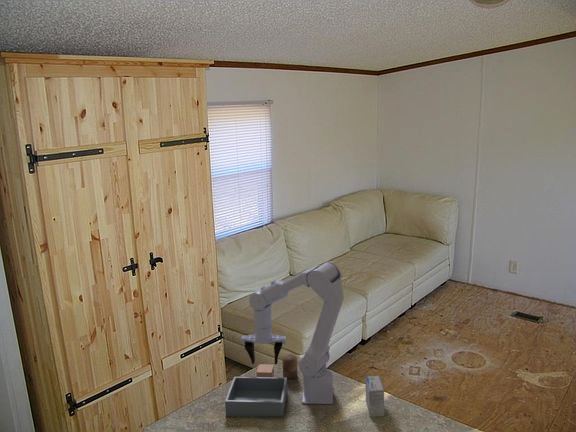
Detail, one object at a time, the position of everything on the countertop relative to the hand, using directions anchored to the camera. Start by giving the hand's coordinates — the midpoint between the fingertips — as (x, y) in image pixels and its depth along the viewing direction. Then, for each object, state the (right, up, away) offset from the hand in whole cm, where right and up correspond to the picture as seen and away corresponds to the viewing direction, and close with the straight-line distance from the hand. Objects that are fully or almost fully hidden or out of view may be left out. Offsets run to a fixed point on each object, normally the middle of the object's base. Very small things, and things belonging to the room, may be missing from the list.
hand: (264, 362), depth 153 cm
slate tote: (-2, -9, -10) cm, 14 cm away
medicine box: (+34, -9, -15) cm, 38 cm away
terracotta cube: (0, -7, +1) cm, 7 cm away
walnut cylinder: (+9, -6, +4) cm, 11 cm away
